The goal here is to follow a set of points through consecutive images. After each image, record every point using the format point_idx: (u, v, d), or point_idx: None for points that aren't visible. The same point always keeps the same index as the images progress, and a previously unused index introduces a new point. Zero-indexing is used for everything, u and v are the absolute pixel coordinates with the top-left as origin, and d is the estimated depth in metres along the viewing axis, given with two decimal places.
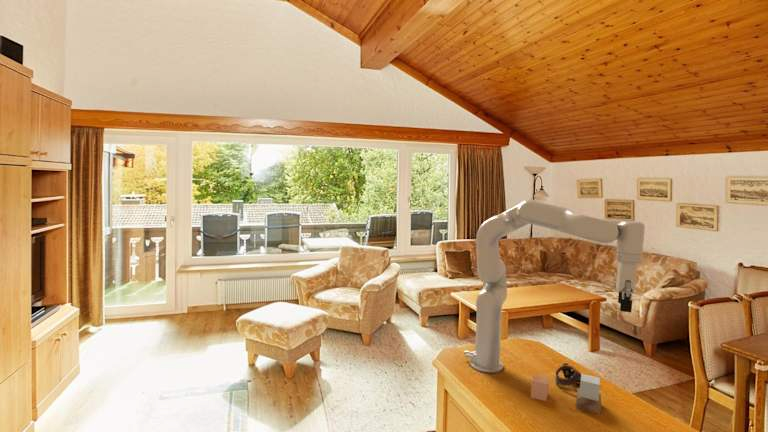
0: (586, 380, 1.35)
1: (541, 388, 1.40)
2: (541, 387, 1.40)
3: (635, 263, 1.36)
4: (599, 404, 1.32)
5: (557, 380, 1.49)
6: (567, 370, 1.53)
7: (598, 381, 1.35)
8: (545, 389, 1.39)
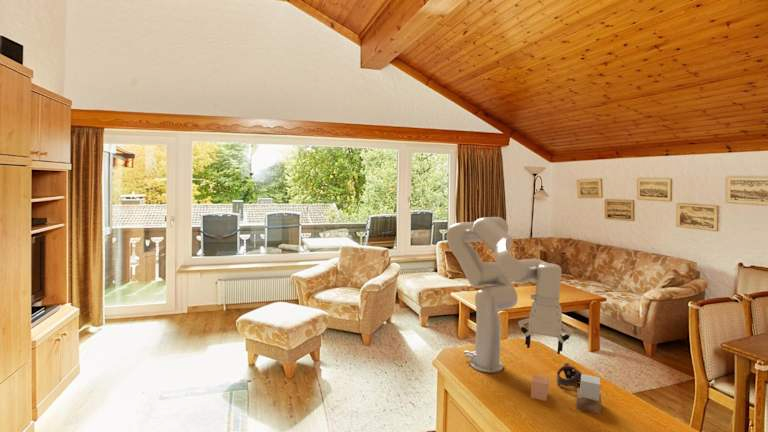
0: (586, 380, 1.35)
1: (541, 388, 1.40)
2: (541, 387, 1.40)
3: None
4: (599, 404, 1.32)
5: (559, 380, 1.49)
6: (568, 370, 1.53)
7: (598, 381, 1.35)
8: (545, 389, 1.39)
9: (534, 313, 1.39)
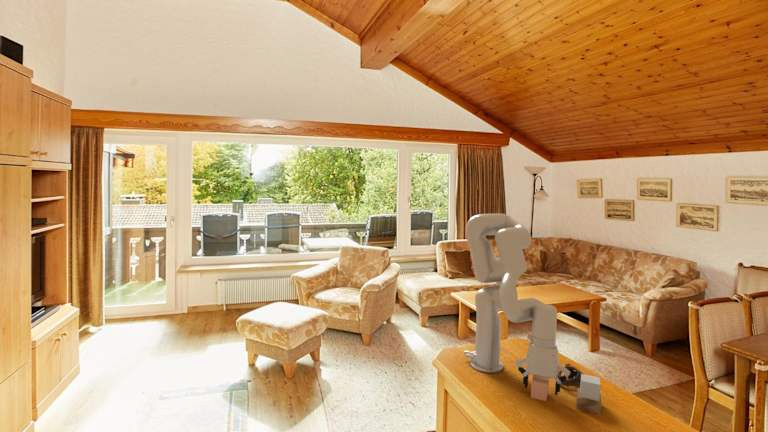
0: (586, 380, 1.35)
1: (541, 388, 1.40)
2: (541, 387, 1.40)
3: None
4: (599, 404, 1.32)
5: None
6: (570, 371, 1.53)
7: (598, 381, 1.35)
8: (545, 389, 1.39)
9: (531, 354, 1.40)
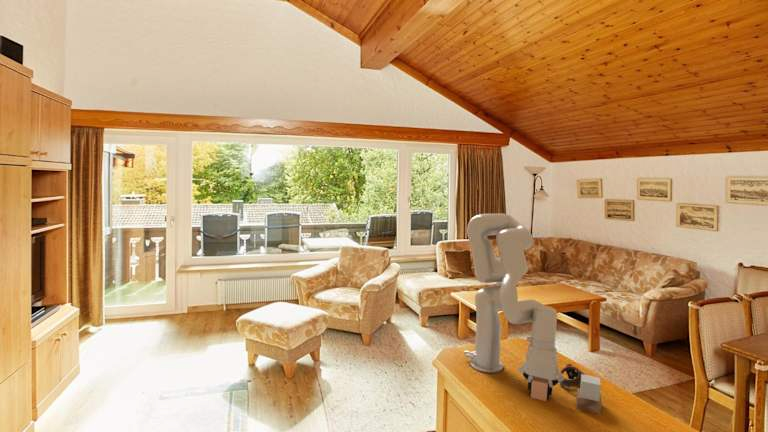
0: (586, 381, 1.35)
1: (541, 388, 1.40)
2: (541, 387, 1.40)
3: None
4: (599, 404, 1.32)
5: (561, 381, 1.48)
6: (571, 371, 1.53)
7: (598, 381, 1.35)
8: (545, 389, 1.39)
9: (530, 355, 1.40)
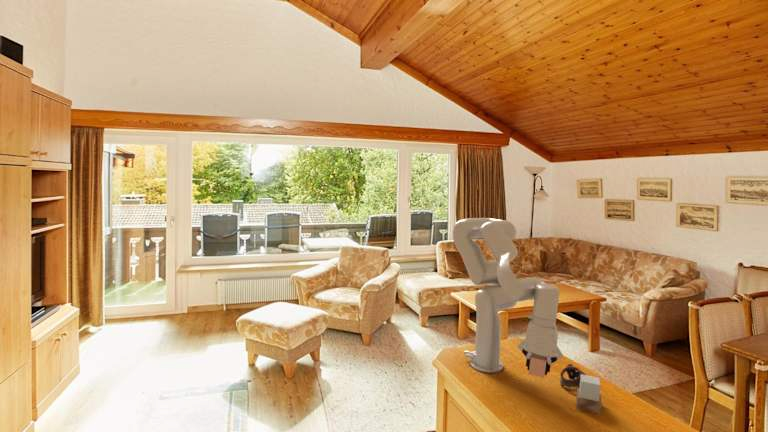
0: (586, 381, 1.35)
1: (540, 365, 1.40)
2: (540, 364, 1.40)
3: None
4: (599, 404, 1.32)
5: (562, 381, 1.48)
6: (572, 371, 1.52)
7: (598, 381, 1.35)
8: (543, 366, 1.39)
9: (531, 332, 1.40)
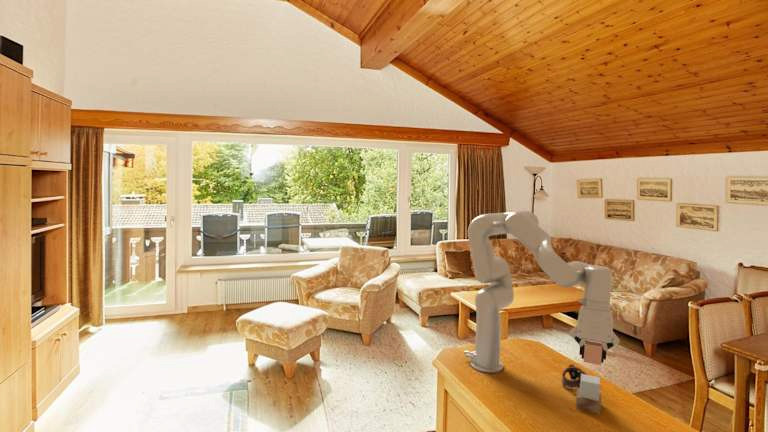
0: (586, 380, 1.35)
1: (596, 351, 1.32)
2: (595, 351, 1.32)
3: None
4: (599, 404, 1.32)
5: (564, 382, 1.48)
6: (573, 371, 1.52)
7: (598, 381, 1.35)
8: (600, 352, 1.32)
9: (583, 317, 1.33)
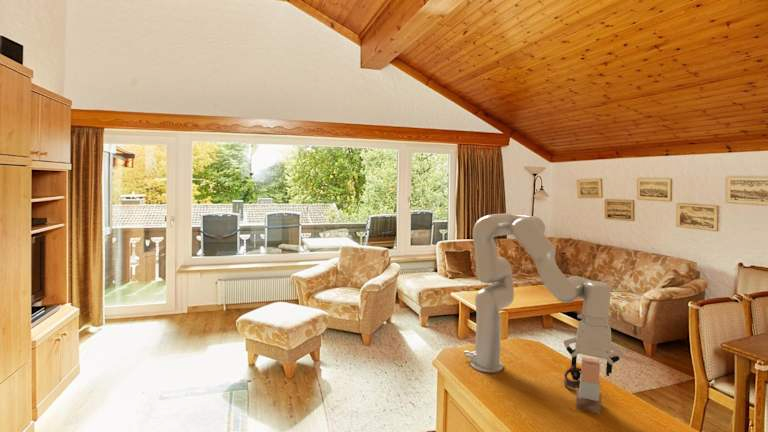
0: None
1: (593, 370, 1.33)
2: (593, 370, 1.33)
3: None
4: (599, 404, 1.32)
5: (566, 382, 1.48)
6: (575, 372, 1.52)
7: None
8: (597, 371, 1.33)
9: (582, 333, 1.34)
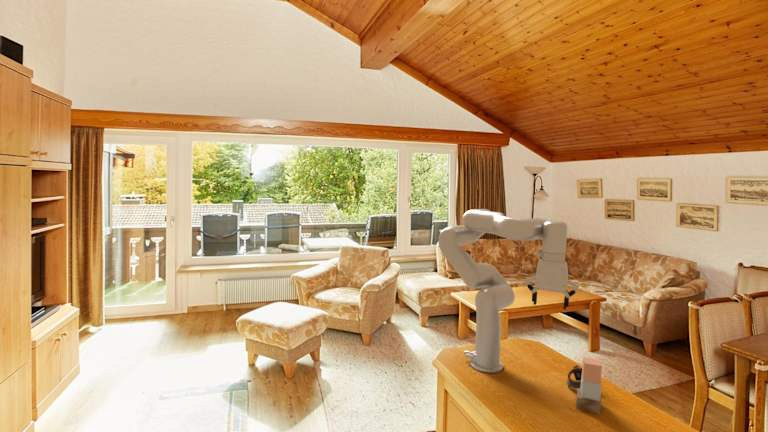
0: None
1: (595, 370, 1.33)
2: (595, 370, 1.33)
3: None
4: (599, 404, 1.32)
5: (569, 383, 1.47)
6: (578, 372, 1.52)
7: None
8: (599, 371, 1.33)
9: (541, 269, 1.42)
